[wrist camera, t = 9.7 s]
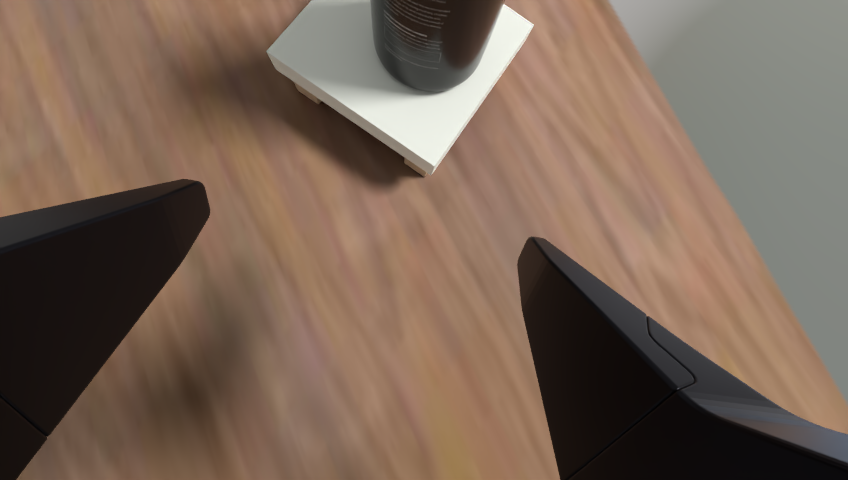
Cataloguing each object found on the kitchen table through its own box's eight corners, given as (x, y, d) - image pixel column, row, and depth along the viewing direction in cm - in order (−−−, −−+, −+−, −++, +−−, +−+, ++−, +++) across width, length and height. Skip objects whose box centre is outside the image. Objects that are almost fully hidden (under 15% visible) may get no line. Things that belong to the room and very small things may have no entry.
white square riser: (426, 186, 23) (434, 166, 19) (287, 91, 23) (266, 51, 19) (511, 65, 25) (534, 24, 21) (383, -23, 25) (383, -81, 21)
